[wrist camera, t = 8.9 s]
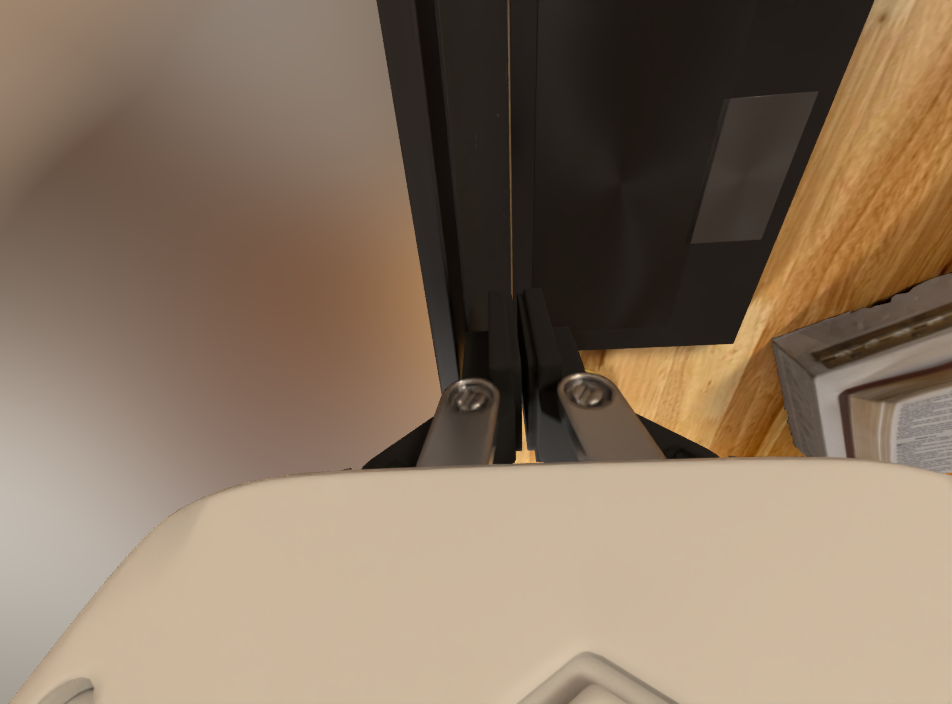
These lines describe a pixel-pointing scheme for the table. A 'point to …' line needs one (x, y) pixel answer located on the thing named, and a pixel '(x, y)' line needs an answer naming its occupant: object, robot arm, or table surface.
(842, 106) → the table surface
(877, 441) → the bible
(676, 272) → the laptop
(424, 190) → the laptop screen
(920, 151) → the table surface
